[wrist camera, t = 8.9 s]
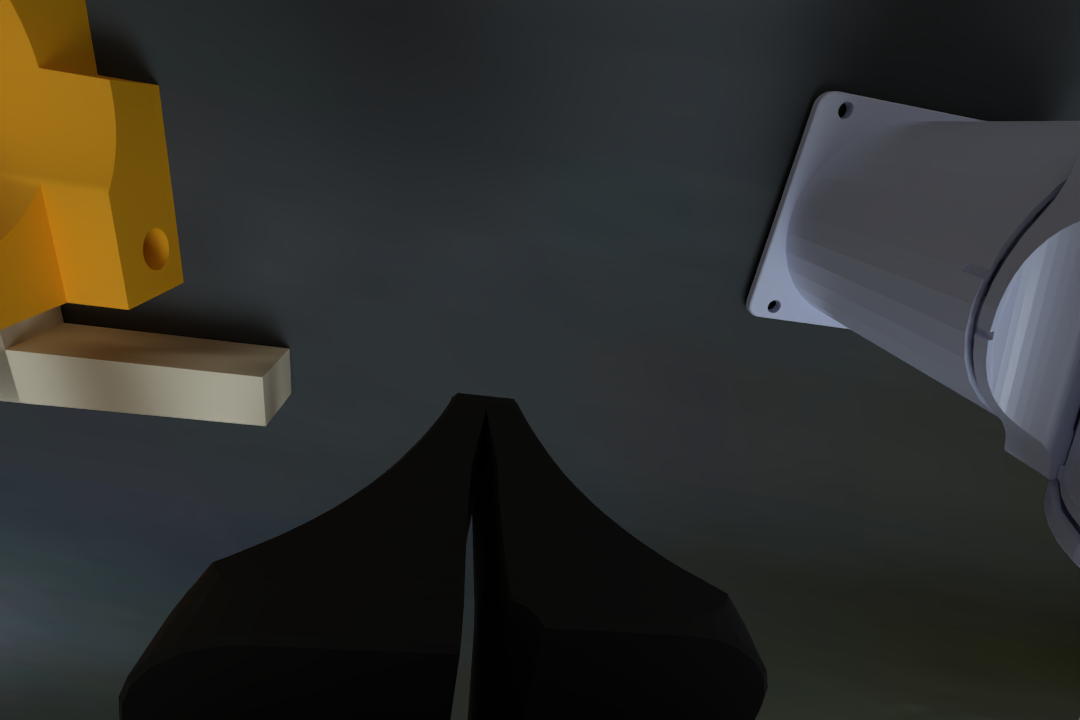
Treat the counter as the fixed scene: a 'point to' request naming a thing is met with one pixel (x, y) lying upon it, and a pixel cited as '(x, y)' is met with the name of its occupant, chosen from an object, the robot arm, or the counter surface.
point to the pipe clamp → (77, 172)
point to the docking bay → (141, 372)
